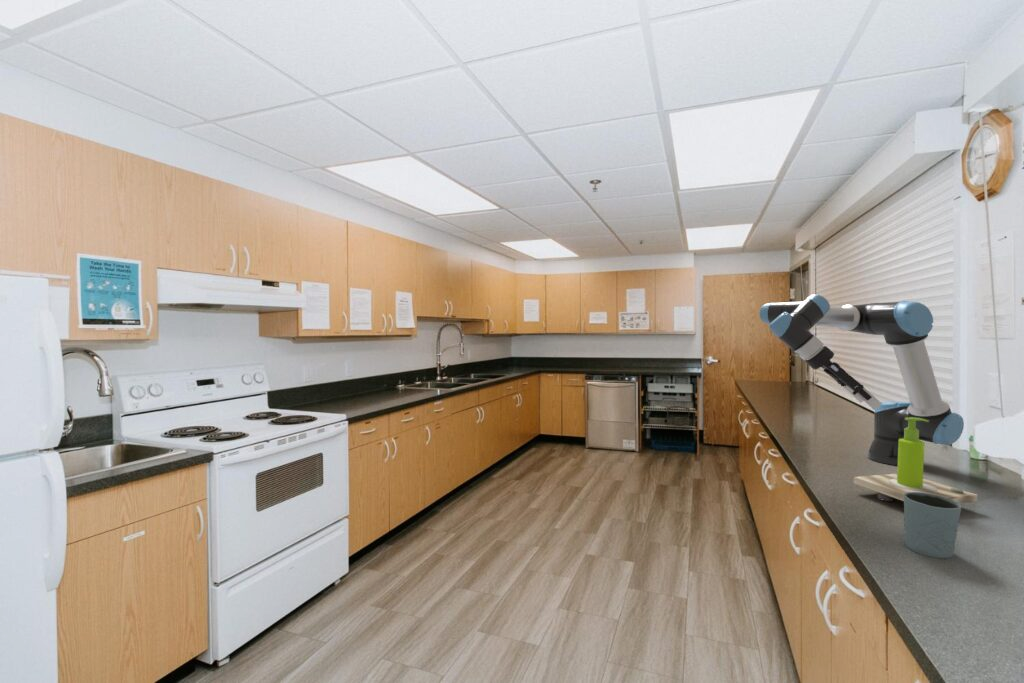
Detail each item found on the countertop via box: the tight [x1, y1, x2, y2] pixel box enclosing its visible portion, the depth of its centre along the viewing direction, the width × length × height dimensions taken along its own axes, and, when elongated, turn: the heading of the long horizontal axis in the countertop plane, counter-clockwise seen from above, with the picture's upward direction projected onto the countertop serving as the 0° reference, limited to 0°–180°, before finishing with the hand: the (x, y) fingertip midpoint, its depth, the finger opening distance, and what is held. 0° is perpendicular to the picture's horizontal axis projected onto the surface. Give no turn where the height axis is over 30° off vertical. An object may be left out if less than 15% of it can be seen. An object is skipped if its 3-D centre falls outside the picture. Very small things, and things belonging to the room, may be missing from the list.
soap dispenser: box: [896, 417, 929, 488], centre depth 141 cm, size 6×7×20 cm
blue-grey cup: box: [903, 492, 962, 559], centre depth 111 cm, size 10×10×12 cm
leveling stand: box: [853, 473, 978, 505], centre depth 141 cm, size 20×20×6 cm
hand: (871, 403), depth 144 cm, fingers open, 13 cm apart
